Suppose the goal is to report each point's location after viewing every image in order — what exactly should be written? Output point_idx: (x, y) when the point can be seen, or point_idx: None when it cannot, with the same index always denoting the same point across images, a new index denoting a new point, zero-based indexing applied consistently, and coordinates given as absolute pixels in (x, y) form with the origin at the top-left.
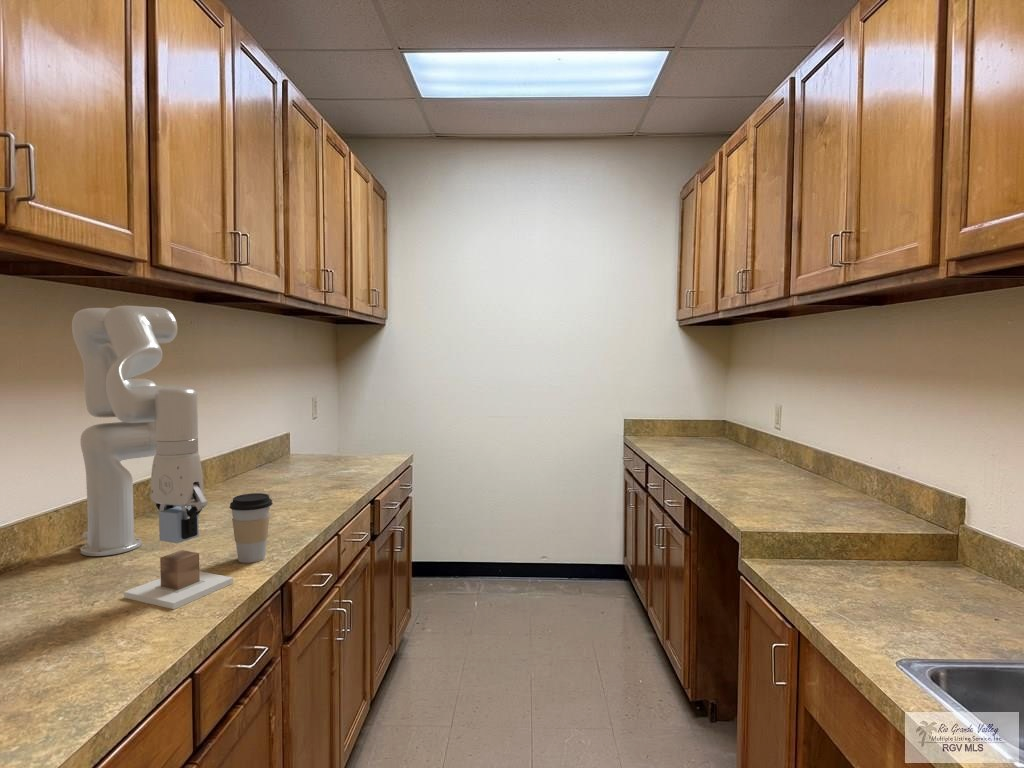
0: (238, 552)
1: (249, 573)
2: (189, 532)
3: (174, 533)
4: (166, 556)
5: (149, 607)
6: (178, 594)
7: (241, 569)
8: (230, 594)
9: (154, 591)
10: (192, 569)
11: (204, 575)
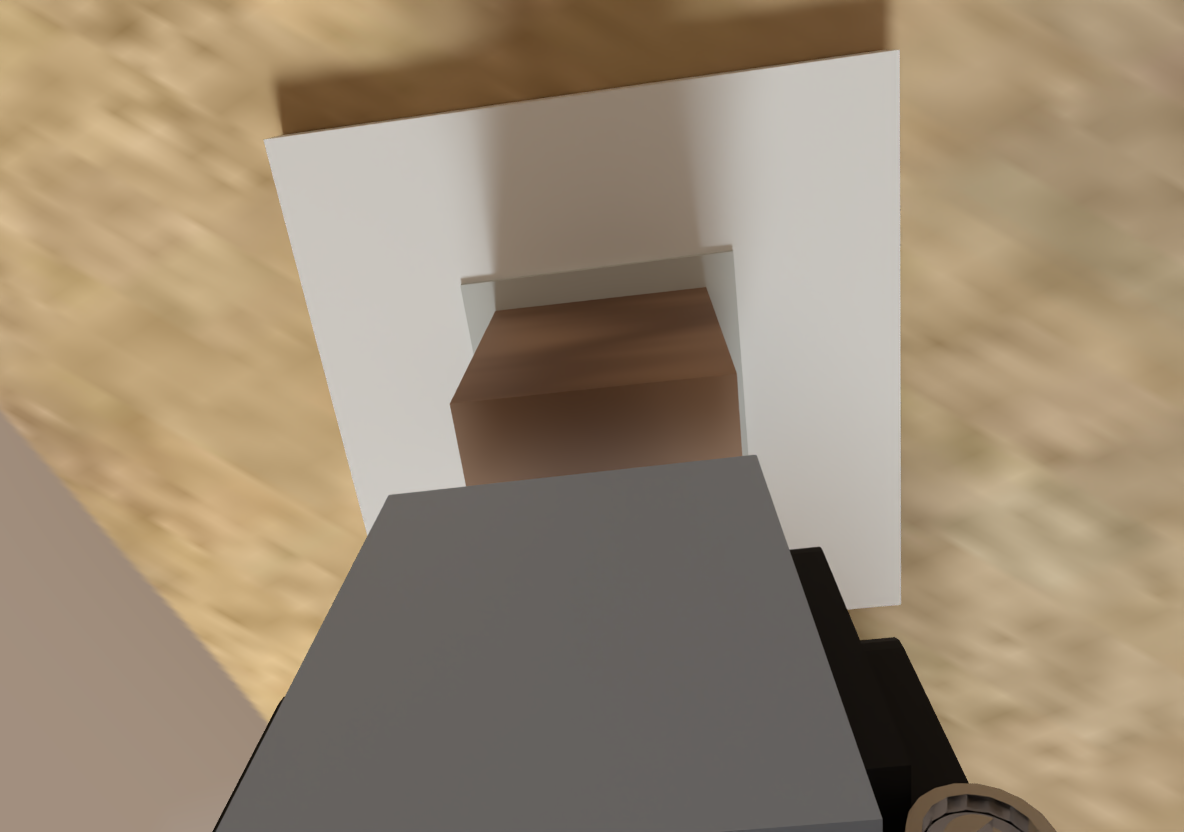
0: None
1: None
2: (281, 701)
3: (407, 568)
4: (706, 427)
5: (488, 52)
6: (418, 267)
7: None
8: (228, 504)
9: (658, 201)
10: None
11: None
